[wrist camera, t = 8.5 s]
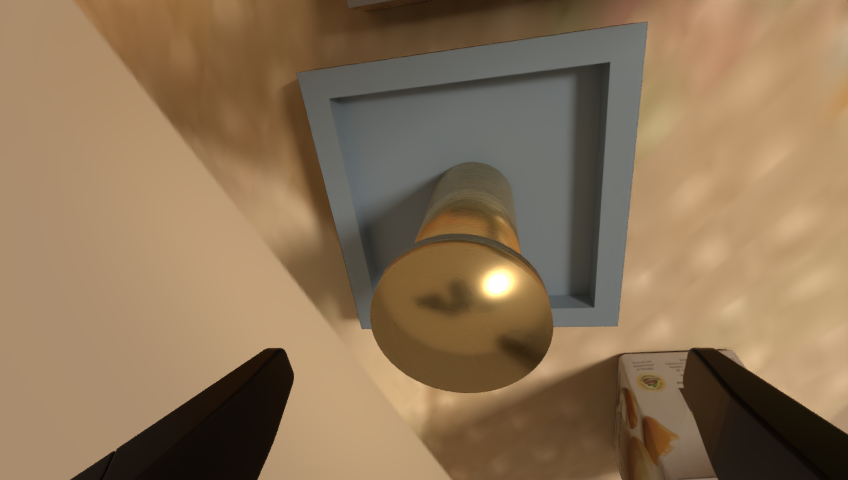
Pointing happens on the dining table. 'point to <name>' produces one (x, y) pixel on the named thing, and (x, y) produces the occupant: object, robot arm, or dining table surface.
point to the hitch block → (378, 4)
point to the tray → (490, 153)
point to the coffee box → (658, 420)
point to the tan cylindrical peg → (464, 291)
